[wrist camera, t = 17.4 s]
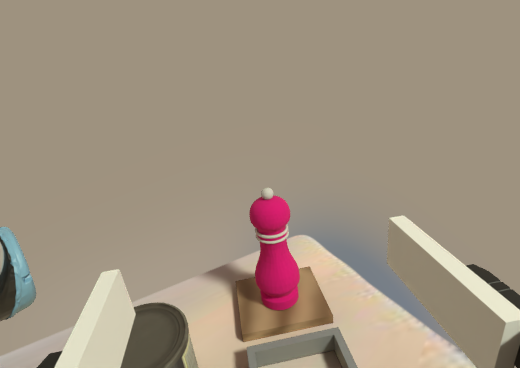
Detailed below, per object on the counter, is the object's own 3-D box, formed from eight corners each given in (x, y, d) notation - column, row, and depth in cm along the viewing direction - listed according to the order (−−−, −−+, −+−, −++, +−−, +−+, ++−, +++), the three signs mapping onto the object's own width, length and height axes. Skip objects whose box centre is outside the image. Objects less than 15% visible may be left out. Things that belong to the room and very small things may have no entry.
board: (243, 342, 46) (242, 334, 46) (236, 287, 57) (235, 281, 57) (333, 322, 48) (332, 315, 47) (309, 272, 59) (309, 266, 58)
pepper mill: (249, 299, 52) (231, 192, 44) (277, 276, 57) (265, 175, 49) (282, 320, 47) (268, 204, 39) (310, 293, 52) (302, 184, 44)
